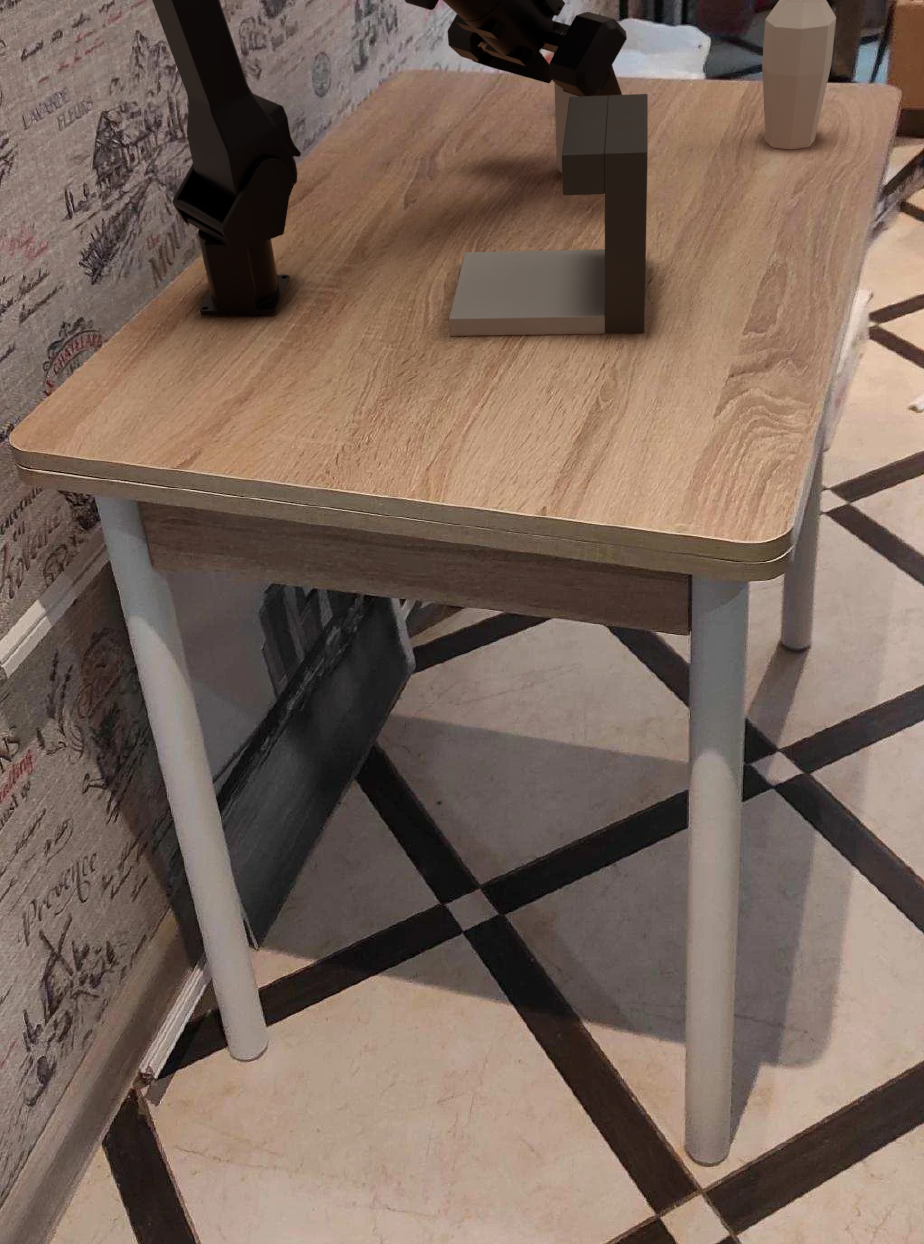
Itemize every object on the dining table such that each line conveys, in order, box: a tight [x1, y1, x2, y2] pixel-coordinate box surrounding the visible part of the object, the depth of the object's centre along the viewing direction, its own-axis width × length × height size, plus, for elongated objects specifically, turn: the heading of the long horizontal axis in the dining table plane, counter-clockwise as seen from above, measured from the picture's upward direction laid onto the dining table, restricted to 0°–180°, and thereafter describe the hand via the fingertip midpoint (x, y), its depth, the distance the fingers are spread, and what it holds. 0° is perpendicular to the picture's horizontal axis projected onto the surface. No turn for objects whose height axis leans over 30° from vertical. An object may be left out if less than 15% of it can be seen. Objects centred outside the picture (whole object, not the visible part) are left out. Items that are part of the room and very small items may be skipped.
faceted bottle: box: [761, 0, 837, 151], centre depth 123 cm, size 6×6×22 cm
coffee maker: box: [448, 93, 649, 337], centre depth 103 cm, size 12×15×14 cm
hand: (584, 89), depth 123 cm, fingers open, 9 cm apart
